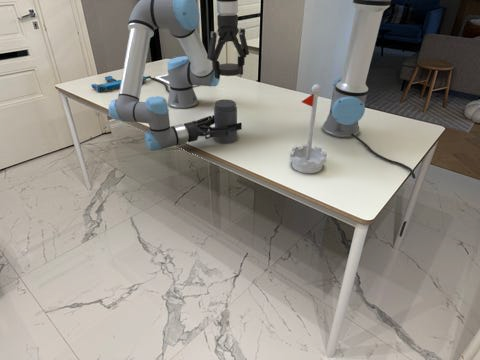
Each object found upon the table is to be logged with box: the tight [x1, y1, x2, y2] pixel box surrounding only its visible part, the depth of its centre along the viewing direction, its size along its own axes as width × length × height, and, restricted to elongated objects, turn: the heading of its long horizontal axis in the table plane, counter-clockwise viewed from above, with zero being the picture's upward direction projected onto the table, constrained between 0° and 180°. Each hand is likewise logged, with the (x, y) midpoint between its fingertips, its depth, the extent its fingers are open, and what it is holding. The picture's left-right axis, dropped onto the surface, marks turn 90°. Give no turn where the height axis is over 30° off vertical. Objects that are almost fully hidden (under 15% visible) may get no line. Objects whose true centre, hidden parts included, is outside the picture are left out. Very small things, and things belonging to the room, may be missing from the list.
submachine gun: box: [90, 75, 152, 92], centre depth 206 cm, size 34×4×25 cm
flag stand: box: [289, 83, 328, 174], centre depth 116 cm, size 13×13×30 cm
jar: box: [213, 99, 238, 144], centre depth 140 cm, size 9×9×16 cm
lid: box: [219, 63, 242, 77], centre depth 133 cm, size 10×10×2 cm
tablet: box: [153, 73, 200, 88], centre depth 212 cm, size 32×20×1 cm, turn 41°
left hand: (235, 121), depth 142 cm, fingers closed on jar, 9 cm apart
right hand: (229, 75), depth 135 cm, fingers closed on lid, 10 cm apart
